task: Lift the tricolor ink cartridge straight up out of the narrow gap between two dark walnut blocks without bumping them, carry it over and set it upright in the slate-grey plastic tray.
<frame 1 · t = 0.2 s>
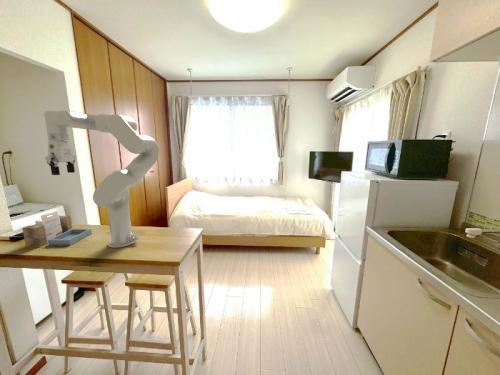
hand: (63, 173, 104), 37 cm above the table, tool pointing down, fingers open, 9 cm apart
ink cartridge box: (51, 238, 115), on the table
left walnut block: (36, 245, 108), on the table
tray: (71, 239, 115), on the table
right walnut block: (63, 232, 123), on the table
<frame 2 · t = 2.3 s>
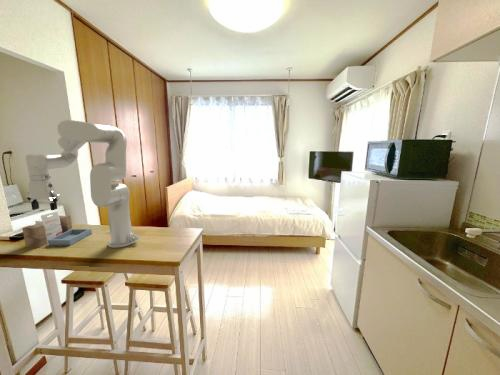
hand: (45, 209, 112), 17 cm above the table, tool pointing down, fingers open, 9 cm apart
nothing on the table moved.
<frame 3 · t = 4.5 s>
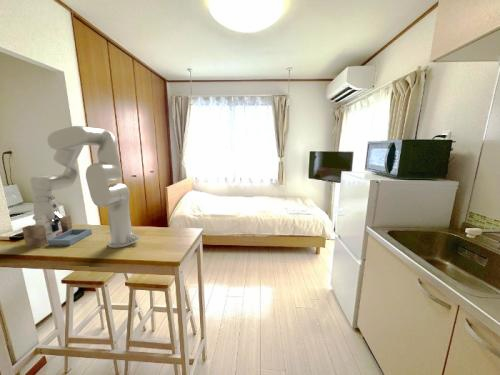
hand: (50, 230, 115), 5 cm above the table, tool pointing down, fingers closed on ink cartridge box, 5 cm apart
ink cartridge box: (51, 238, 116), on the table, touching gripper
everything else where it was.
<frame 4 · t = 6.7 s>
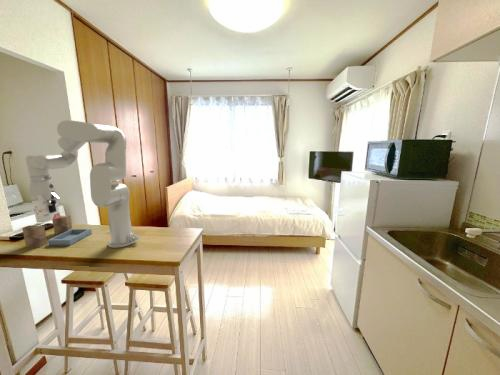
hand: (47, 211, 112), 15 cm above the table, tool pointing down, fingers closed on ink cartridge box, 5 cm apart
ink cartridge box: (48, 220, 113), point 10 cm above the table, touching gripper
everything else where it was.
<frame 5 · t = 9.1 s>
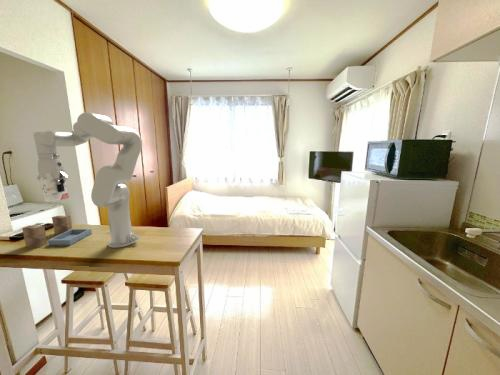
hand: (55, 191, 110), 27 cm above the table, tool pointing down, fingers closed on ink cartridge box, 5 cm apart
ink cartridge box: (57, 200, 111), point 22 cm above the table, touching gripper
everything else where it was.
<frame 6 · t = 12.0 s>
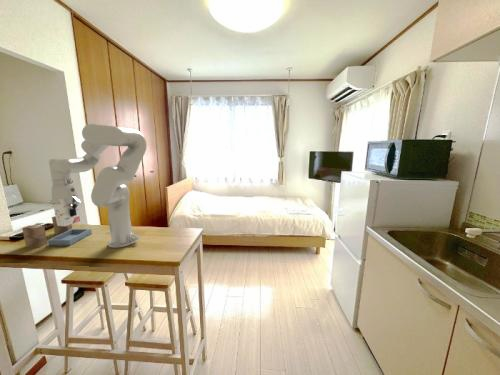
hand: (67, 215, 112), 14 cm above the table, tool pointing down, fingers closed on ink cartridge box, 5 cm apart
ink cartridge box: (68, 223, 113), point 9 cm above the table, touching gripper
everything else where it was.
when the fingers open (7 cm above the table, at t = 14.2 s): ink cartridge box drops 2 cm, resting on tray.
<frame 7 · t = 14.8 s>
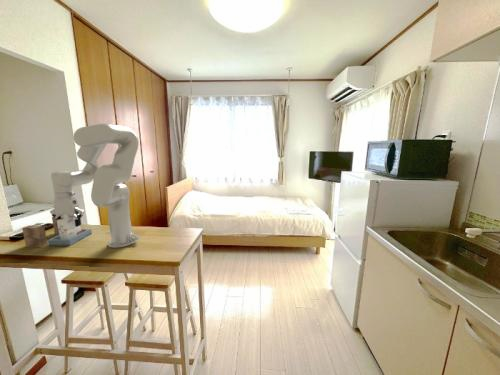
hand: (69, 225, 113), 8 cm above the table, tool pointing down, fingers open, 9 cm apart
ink cartridge box: (71, 238, 115), resting on tray
everything else where it was.
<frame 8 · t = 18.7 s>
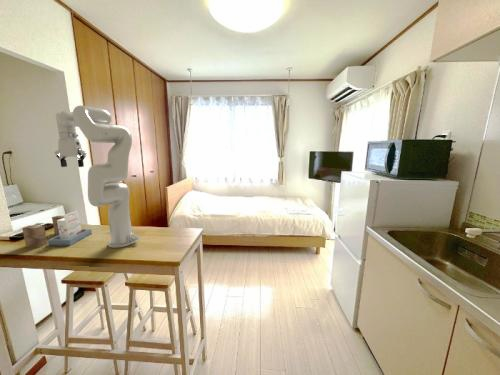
hand: (72, 166, 121), 38 cm above the table, tool pointing down, fingers open, 9 cm apart
nothing on the table moved.
at the end: ink cartridge box 0.1 cm off-centre on the tray, point 0.4 cm above the tray's base; left walnut block moved 0.1 cm from its start; right walnut block moved 0.1 cm from its start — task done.
